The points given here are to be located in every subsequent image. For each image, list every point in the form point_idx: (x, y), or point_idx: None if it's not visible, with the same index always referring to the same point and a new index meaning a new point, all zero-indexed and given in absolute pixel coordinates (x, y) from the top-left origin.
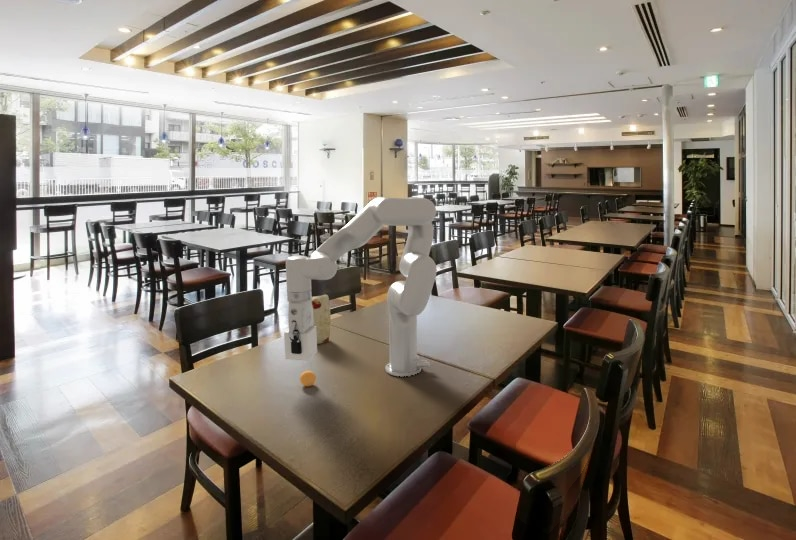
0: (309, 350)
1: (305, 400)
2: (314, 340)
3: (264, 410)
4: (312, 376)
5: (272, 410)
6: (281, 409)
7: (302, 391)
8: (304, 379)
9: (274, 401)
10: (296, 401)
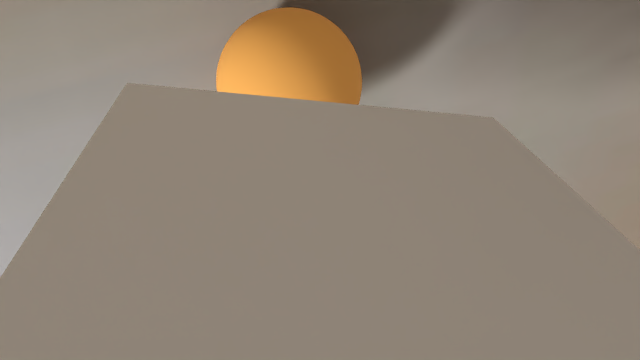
0: (507, 175)
1: (538, 18)
2: (222, 206)
3: (622, 233)
4: (328, 37)
5: (633, 192)
6: (634, 145)
7: (386, 82)
8: (358, 102)
9: None
10: (542, 81)
